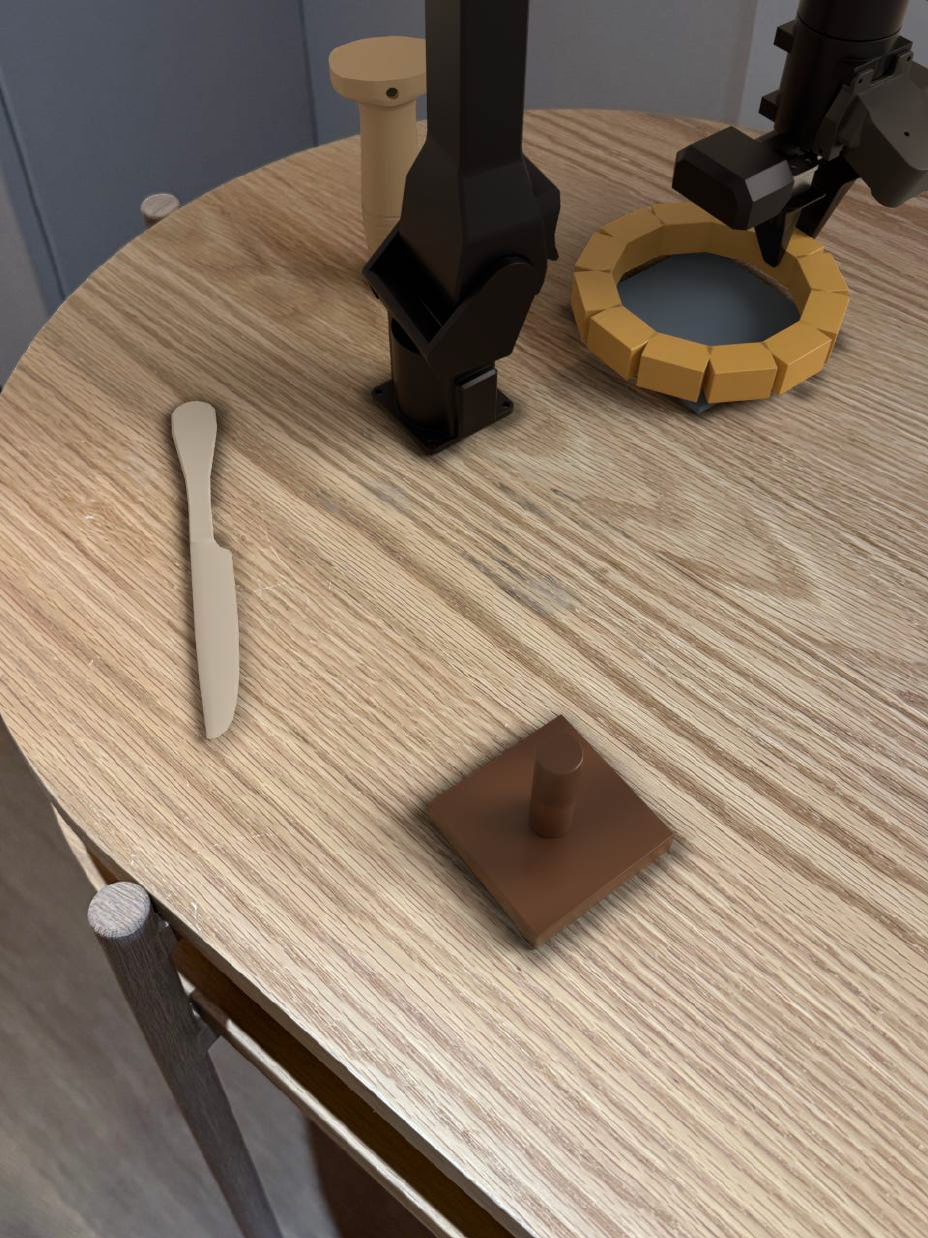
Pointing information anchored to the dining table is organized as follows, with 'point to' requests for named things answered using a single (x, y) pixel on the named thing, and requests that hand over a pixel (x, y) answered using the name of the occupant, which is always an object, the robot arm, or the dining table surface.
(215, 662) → the butter knife
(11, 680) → the dining table surface
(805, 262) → the ring
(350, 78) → the handle
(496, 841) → the post
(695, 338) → the mat
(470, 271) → the robot arm
